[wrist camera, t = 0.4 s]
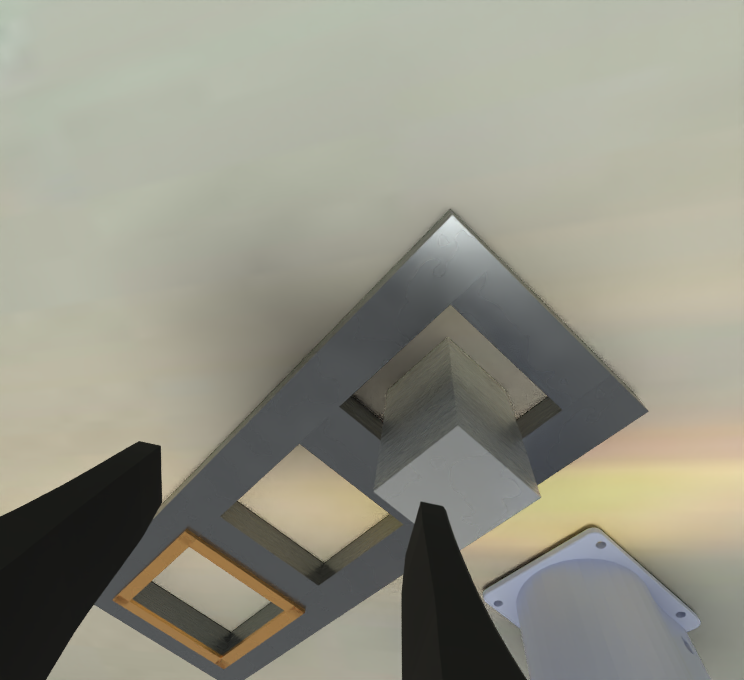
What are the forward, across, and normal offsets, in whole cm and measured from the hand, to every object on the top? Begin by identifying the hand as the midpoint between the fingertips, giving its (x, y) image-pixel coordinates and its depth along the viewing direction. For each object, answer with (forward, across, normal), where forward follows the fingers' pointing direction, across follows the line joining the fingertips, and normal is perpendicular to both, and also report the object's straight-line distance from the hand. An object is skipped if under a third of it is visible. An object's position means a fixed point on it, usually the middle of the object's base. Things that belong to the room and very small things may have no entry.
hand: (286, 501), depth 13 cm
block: (+10, -5, +1) cm, 11 cm away
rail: (+10, 0, +10) cm, 14 cm away
